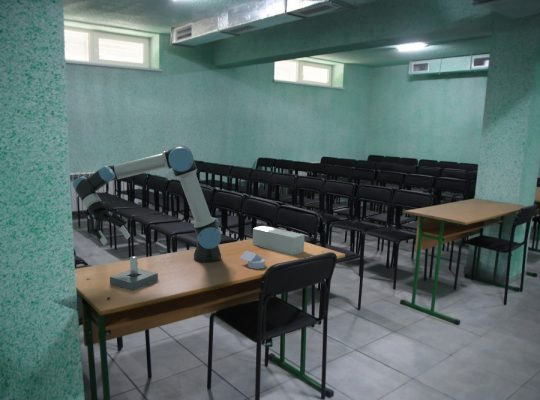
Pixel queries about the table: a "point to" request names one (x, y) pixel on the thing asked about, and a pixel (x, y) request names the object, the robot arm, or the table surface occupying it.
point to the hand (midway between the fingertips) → (117, 240)
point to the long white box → (278, 240)
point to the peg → (133, 266)
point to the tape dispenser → (253, 260)
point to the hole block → (133, 279)
